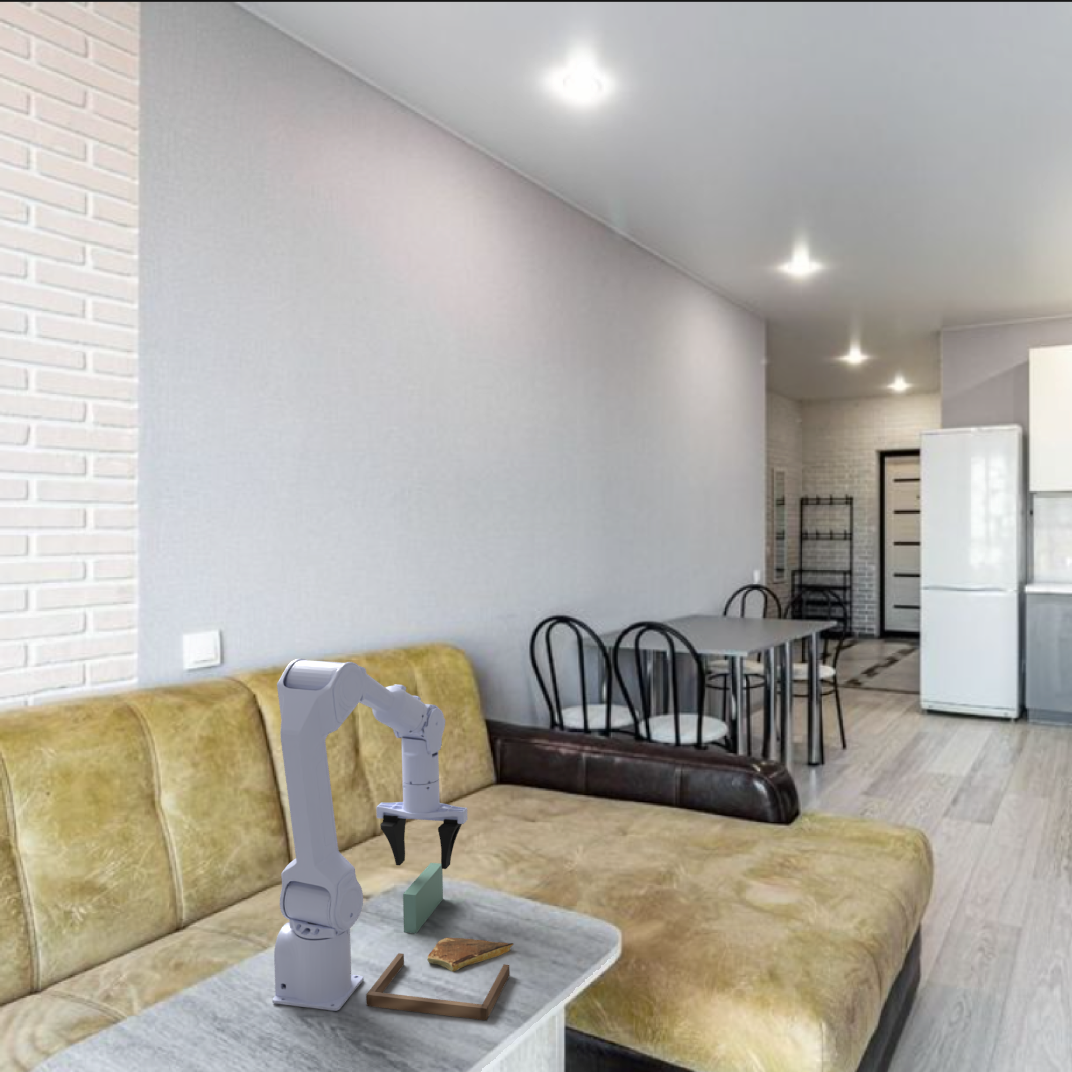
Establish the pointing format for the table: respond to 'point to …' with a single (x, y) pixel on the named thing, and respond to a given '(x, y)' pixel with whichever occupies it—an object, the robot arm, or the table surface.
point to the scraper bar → (422, 897)
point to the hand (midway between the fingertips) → (423, 864)
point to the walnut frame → (432, 1005)
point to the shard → (465, 952)
